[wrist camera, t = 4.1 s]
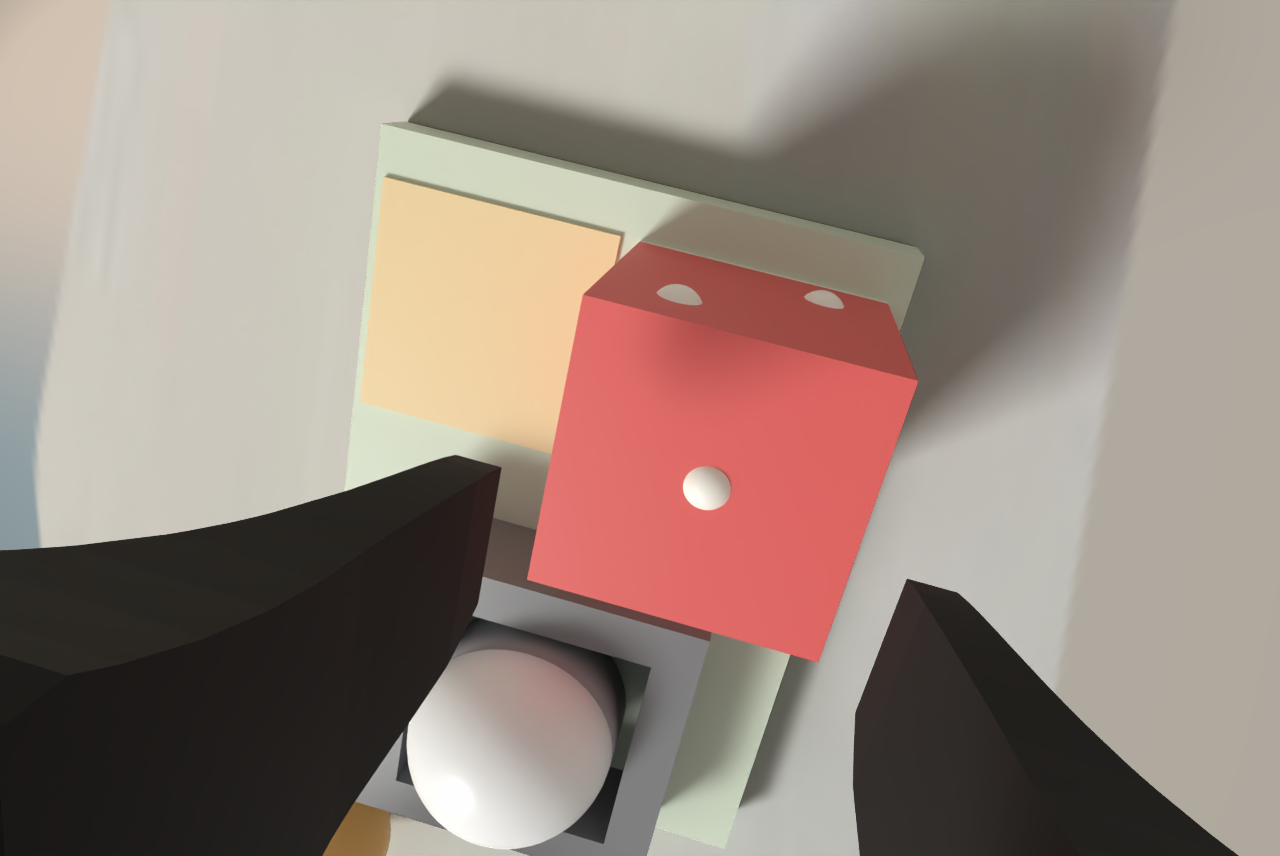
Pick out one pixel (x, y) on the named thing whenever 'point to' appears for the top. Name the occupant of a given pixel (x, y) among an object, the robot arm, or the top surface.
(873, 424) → the die
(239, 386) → the top surface
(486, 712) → the white ball
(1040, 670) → the top surface
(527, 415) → the board
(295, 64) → the top surface
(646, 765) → the housing
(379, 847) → the figurine
